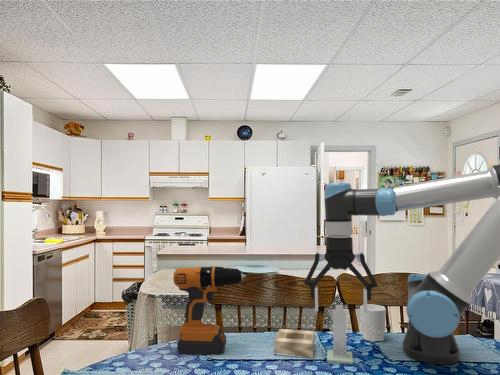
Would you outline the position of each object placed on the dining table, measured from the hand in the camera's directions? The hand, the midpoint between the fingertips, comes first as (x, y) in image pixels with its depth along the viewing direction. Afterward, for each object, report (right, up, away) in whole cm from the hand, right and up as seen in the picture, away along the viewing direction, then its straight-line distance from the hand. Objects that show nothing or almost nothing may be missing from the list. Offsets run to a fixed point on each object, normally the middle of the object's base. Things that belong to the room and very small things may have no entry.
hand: (340, 311), depth 109 cm
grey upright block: (0, -13, 0) cm, 13 cm away
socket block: (-12, -14, +6) cm, 19 cm away
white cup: (+14, -14, +15) cm, 25 cm away
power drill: (-38, -14, +5) cm, 41 cm away
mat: (0, -13, 0) cm, 13 cm away
